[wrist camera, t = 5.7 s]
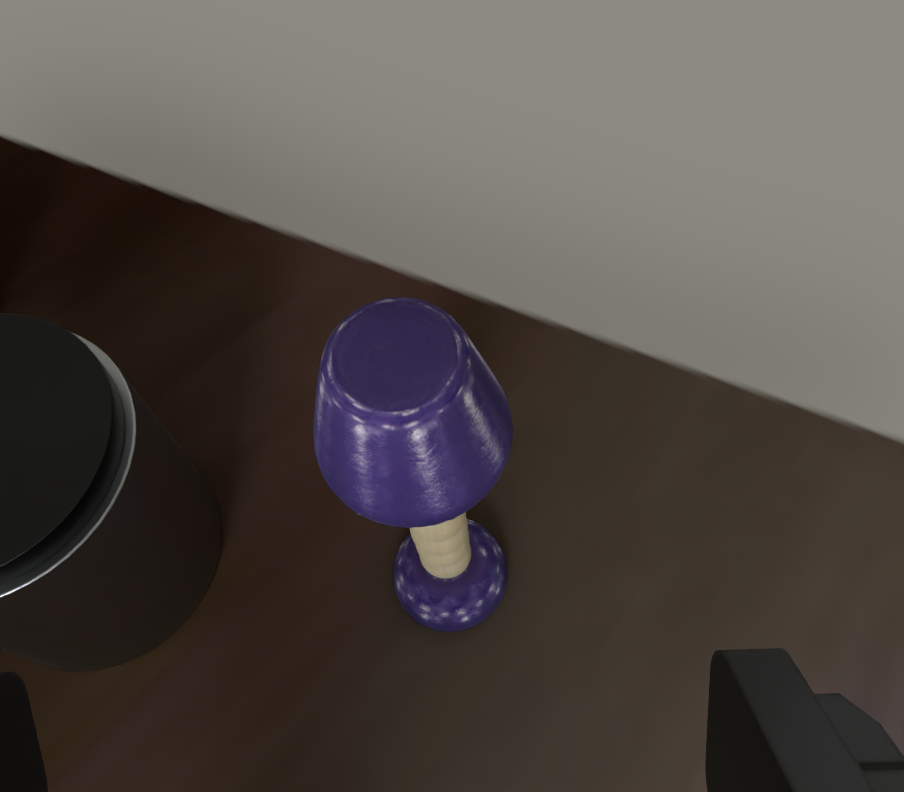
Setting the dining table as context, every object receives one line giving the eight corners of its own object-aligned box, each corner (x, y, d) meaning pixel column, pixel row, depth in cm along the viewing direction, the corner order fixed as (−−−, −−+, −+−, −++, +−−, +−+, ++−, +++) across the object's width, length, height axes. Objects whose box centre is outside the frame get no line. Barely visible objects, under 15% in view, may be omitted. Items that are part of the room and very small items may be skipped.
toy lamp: (485, 662, 30) (479, 486, 15) (361, 624, 31) (241, 422, 16) (520, 536, 32) (545, 274, 17) (403, 504, 33) (331, 226, 18)
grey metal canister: (-65, 598, 32) (-279, 503, 23) (90, 408, 35) (-44, 262, 26) (122, 718, 29) (-36, 665, 21) (267, 502, 33) (186, 378, 24)
